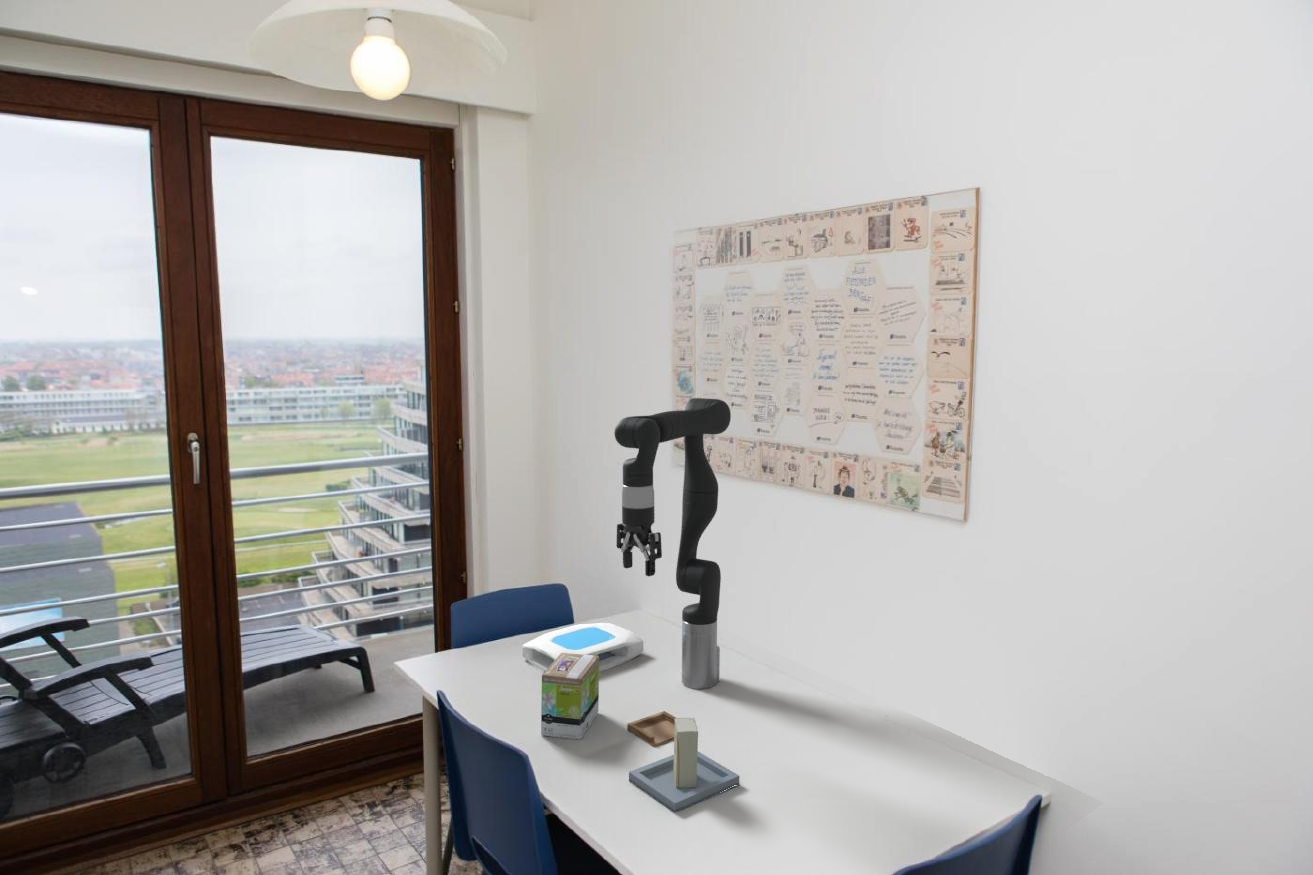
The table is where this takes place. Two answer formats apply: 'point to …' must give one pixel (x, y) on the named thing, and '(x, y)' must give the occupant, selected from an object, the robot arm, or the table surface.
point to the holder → (654, 728)
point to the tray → (663, 789)
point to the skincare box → (685, 752)
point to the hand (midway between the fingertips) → (638, 571)
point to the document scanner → (584, 644)
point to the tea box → (570, 695)
